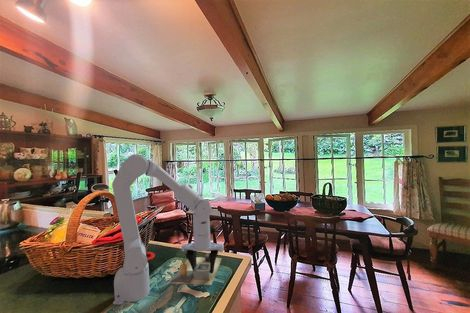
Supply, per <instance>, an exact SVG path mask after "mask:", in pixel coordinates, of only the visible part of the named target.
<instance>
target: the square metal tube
mask: <svg viewBox="0 0 470 313" xmlns="http://www.w3.org/2000/svg"><path fill="white" fill-rule="evenodd" d="M211 276H212V273H211V272H210V263H197V265H196V267H195V269H194V270H193V280H210V278H211Z"/></svg>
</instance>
